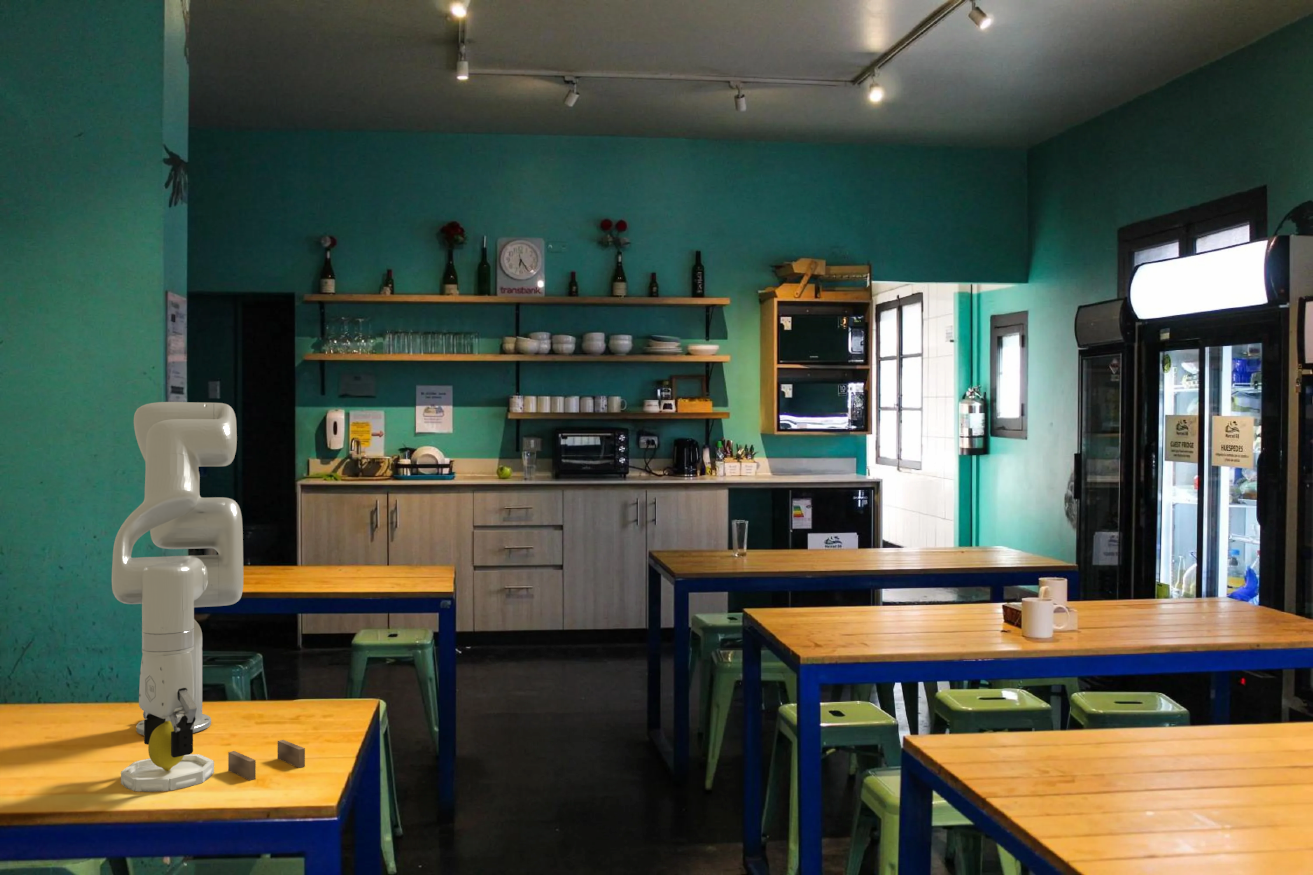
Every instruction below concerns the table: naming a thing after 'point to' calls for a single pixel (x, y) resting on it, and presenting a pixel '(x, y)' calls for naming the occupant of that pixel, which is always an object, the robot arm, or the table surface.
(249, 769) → the rack
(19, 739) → the table surface
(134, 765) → the saucer
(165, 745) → the lemon
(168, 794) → the table surface
